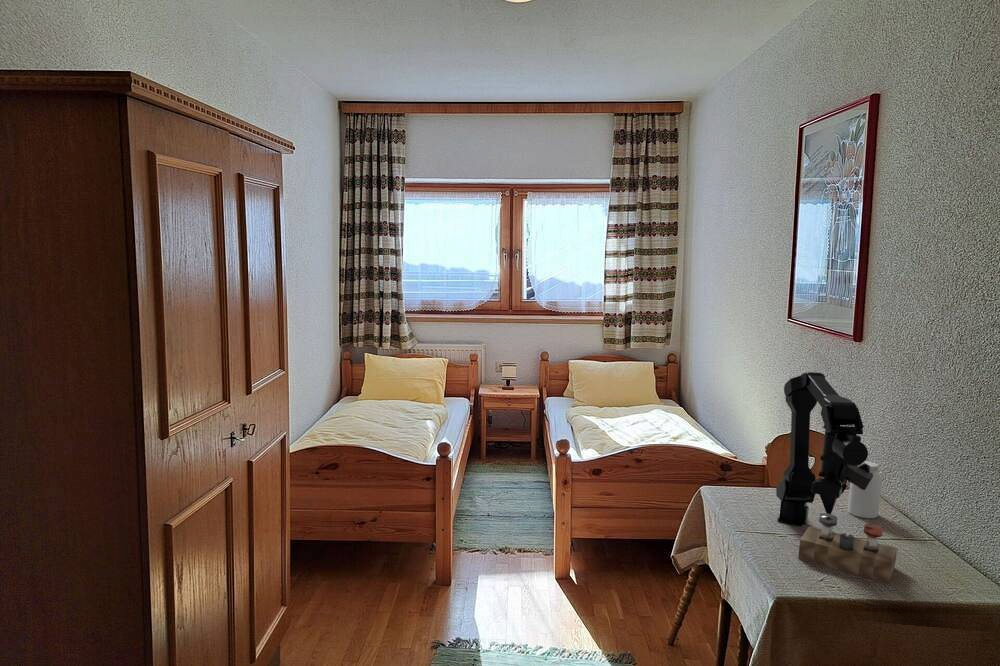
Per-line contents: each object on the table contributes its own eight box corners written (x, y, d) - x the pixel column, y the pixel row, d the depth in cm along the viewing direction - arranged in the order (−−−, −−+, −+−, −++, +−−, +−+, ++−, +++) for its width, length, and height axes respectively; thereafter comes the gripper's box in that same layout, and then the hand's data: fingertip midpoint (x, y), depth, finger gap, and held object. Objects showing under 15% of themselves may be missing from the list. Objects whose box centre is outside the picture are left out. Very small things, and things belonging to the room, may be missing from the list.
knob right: (859, 555, 175) (863, 527, 174) (862, 550, 179) (865, 522, 178) (878, 560, 173) (881, 532, 172) (880, 554, 176) (884, 526, 175)
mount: (798, 558, 181) (800, 539, 180) (807, 544, 189) (809, 526, 188) (889, 583, 170) (891, 563, 169) (894, 567, 178) (897, 548, 177)
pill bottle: (868, 508, 216) (874, 459, 213) (883, 519, 208) (889, 468, 205) (842, 508, 215) (847, 458, 213) (856, 519, 207) (862, 467, 205)
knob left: (815, 544, 181) (818, 516, 180) (818, 538, 184) (821, 512, 183) (832, 548, 179) (835, 521, 178) (835, 543, 182) (838, 516, 181)
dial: (838, 548, 176) (839, 535, 175) (840, 544, 178) (841, 531, 178) (851, 551, 174) (853, 538, 174) (853, 547, 176) (855, 534, 176)
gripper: (866, 469, 166) (858, 534, 168) (878, 449, 181) (871, 510, 184) (813, 458, 172) (807, 522, 174) (829, 440, 187) (823, 499, 190)
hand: (828, 513), depth 180 cm, fingers closed
